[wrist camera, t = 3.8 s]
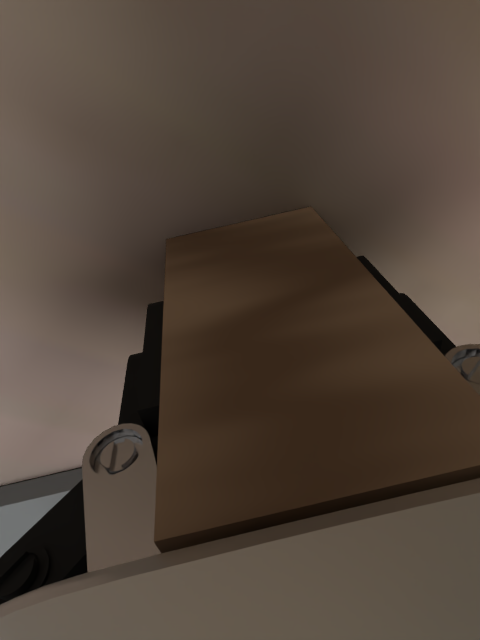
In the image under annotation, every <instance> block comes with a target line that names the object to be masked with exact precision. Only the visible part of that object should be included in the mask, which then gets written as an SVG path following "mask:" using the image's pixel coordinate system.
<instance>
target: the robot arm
mask: <svg viewBox="0 0 480 640" xmlns="http://www.w3.org/2000/svg"><path fill="white" fill-rule="evenodd" d="M356 258H357V259H358V260H359V261H360V262H361V263H362V264H363V265H364V267H365V268H366V269H367V270H368V271H369V272H370V273H371V274H372V275H373V277H374V278H375V279H376V280H377V281H378V282H379V283H380V284H381V286H382V287H383V288H384V289H385V290H386V291H387V292H388V293H389V295H390V296H391V297H392V298H393V299H394V300H395V301H396V302H397V304H398V305H399V306H400V307H401V308H402V309H403V310H404V311H405V313H406V314H407V315H408V316H409V317H410V318H411V319H412V320H413V321H414V323H415V324H416V325H417V326H418V327H419V328H420V329H421V330H422V332H423V333H424V334H425V335H426V336H427V337H428V338H429V339H430V341H431V342H432V343H433V344H434V345H435V346H436V347H437V348H438V350H439V351H440V352H441V353H442V354H443V355H444V356H445V357H446V358H447V360H448V361H449V362H450V363H451V364H452V365H453V366H454V367H455V369H456V370H457V371H458V372H459V373H460V374H461V375H462V376H463V378H464V379H465V380H466V381H467V382H468V383H469V384H470V385H471V387H472V388H473V389H474V390H475V391H476V392H477V393H478V394H479V396H480V344H467V345H461V346H457V347H456V346H455V345H454V344H453V343H452V342H451V341H450V340H449V339H448V338H447V337H446V335H445V334H444V333H443V332H442V331H441V330H440V329H439V328H438V327H437V326H436V325H435V324H434V323H433V322H432V321H431V320H430V319H429V318H428V317H427V316H426V315H425V314H424V313H423V312H422V311H421V309H420V308H419V307H418V306H417V305H416V304H415V303H414V302H413V301H412V300H411V299H410V298H409V297H408V296H407V295H405V294H404V293H398V292H397V291H396V290H395V289H394V288H393V286H392V285H391V284H390V283H389V282H388V281H387V280H386V279H385V278H384V277H383V276H382V275H381V274H380V273H379V271H378V270H377V269H376V268H375V267H374V266H373V265H372V264H371V263H370V262H369V261H368V260H367V259H366V258H365V257H364V256H359V257H356ZM163 307H164V301H162V302H157V303H153V304H149V305H148V308H147V317H146V327H145V336H144V346H143V352H142V353H138V354H134V355H130V356H129V358H128V363H127V370H126V376H125V383H124V390H123V396H122V403H121V410H120V416H119V423H118V425H117V426H113V427H111V428H109V429H107V430H106V431H104V432H102V433H101V434H100V435H99V436H97V437H96V438H95V439H94V440H93V441H92V442H91V444H90V445H89V446H88V447H87V449H86V451H85V454H84V456H83V461H82V477H83V479H82V480H81V481H80V482H79V483H78V484H77V485H76V486H75V487H74V488H72V489H71V490H70V491H69V492H68V493H67V494H66V495H65V496H64V497H63V498H62V499H61V500H60V501H59V502H58V503H57V504H56V505H55V506H54V507H53V508H51V509H50V510H49V511H48V512H47V513H46V514H45V515H44V516H43V517H42V518H41V519H40V520H39V521H38V522H37V523H36V524H35V525H34V526H33V527H32V528H30V529H29V530H28V531H27V532H26V533H25V534H24V535H23V536H22V537H21V538H20V539H19V540H18V541H17V542H16V543H15V544H14V545H13V546H12V547H11V548H9V549H8V550H7V551H6V552H5V553H4V554H3V555H2V556H1V557H0V640H480V478H478V479H473V480H469V481H465V482H460V483H456V484H451V485H447V486H443V487H438V488H434V489H430V490H425V491H421V492H417V493H413V494H408V495H404V496H400V497H396V498H391V499H387V500H383V501H379V502H374V503H370V504H366V505H362V506H357V507H353V508H349V509H345V510H340V511H336V512H332V513H328V514H323V515H319V516H315V517H311V518H307V519H302V520H298V521H294V522H290V523H285V524H281V525H277V526H273V527H269V528H265V529H260V530H256V531H252V532H248V533H244V534H240V535H236V536H232V537H227V538H223V539H219V540H215V541H211V542H207V543H203V544H198V545H194V546H190V547H186V548H182V549H178V550H174V551H169V552H165V553H161V552H160V551H159V549H158V548H157V546H156V544H155V543H154V525H155V501H156V477H157V453H158V428H159V404H160V380H161V356H162V332H163Z"/></svg>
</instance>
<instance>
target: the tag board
mask: <svg viewBox="0 0 480 640" xmlns="http://www.w3.org/2000/svg"><path fill="white" fill-rule="evenodd" d="M82 479H83V477H82V468H79V469H75V470H71V471H67V472H62V473H58V474H54V475H49V476H45V477H41V478H36V479H32V480H28V481H24V482H19V483H15V484H11V485H6V486H2V487H0V557H1V556H2V555H3V554H4V553H5V552H6V551H7V550H8V549H9V548H11V547H12V546H13V545H14V544H15V543H16V542H17V541H18V540H19V539H20V538H21V537H22V536H23V535H24V534H25V533H26V532H27V531H28V530H29V529H30V528H32V527H33V526H34V525H35V524H36V523H37V522H38V521H39V520H40V519H41V518H42V517H43V516H44V515H45V514H46V513H47V512H48V511H49V510H50V509H51V508H53V507H54V506H55V505H56V504H57V503H58V502H59V501H60V500H61V499H62V498H63V497H64V496H65V495H66V494H67V493H68V492H69V491H70V490H71V489H72V488H74V487H75V486H76V485H77V484H78V483H79V482H80V481H81V480H82Z"/></svg>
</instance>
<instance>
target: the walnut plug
mask: <svg viewBox="0 0 480 640" xmlns="http://www.w3.org/2000/svg"><path fill="white" fill-rule="evenodd" d="M478 478H480V396H479V394H478V393H477V392H476V391H475V390H474V389H473V388H472V387H471V385H470V384H469V383H468V382H467V381H466V380H465V379H464V378H463V376H462V375H461V374H460V373H459V372H458V371H457V370H456V369H455V367H454V366H453V365H452V364H451V363H450V362H449V361H448V360H447V358H446V357H445V356H444V355H443V354H442V353H441V352H440V351H439V350H438V348H437V347H436V346H435V345H434V344H433V343H432V342H431V341H430V339H429V338H428V337H427V336H426V335H425V334H424V333H423V332H422V330H421V329H420V328H419V327H418V326H417V325H416V324H415V323H414V321H413V320H412V319H411V318H410V317H409V316H408V315H407V314H406V313H405V311H404V310H403V309H402V308H401V307H400V306H399V305H398V304H397V302H396V301H395V300H394V299H393V298H392V297H391V296H390V295H389V293H388V292H387V291H386V290H385V289H384V288H383V287H382V286H381V284H380V283H379V282H378V281H377V280H376V279H375V278H374V277H373V275H372V274H371V273H370V272H369V271H368V270H367V269H366V268H365V267H364V265H363V264H362V263H361V262H360V261H359V260H358V259H357V258H356V256H355V255H354V254H353V253H352V252H351V251H350V250H349V249H348V247H347V246H346V245H345V244H344V243H343V242H342V241H341V240H340V238H339V237H338V236H337V235H336V234H335V233H334V232H333V231H332V229H331V228H330V227H329V226H328V225H327V224H326V223H325V222H324V221H323V219H322V218H321V217H320V216H319V215H318V214H317V213H316V212H315V210H314V209H313V208H312V207H306V208H302V209H298V210H293V211H289V212H284V213H280V214H275V215H271V216H267V217H262V218H258V219H253V220H249V221H244V222H240V223H236V224H231V225H227V226H222V227H218V228H214V229H209V230H205V231H200V232H196V233H191V234H187V235H183V236H178V237H174V238H169V239H166V259H165V283H164V307H163V332H162V356H161V380H160V404H159V428H158V453H157V477H156V501H155V525H154V543H155V544H156V546H157V548H158V549H159V551H160V552H161V553H165V552H169V551H174V550H178V549H182V548H186V547H190V546H194V545H198V544H203V543H207V542H211V541H215V540H219V539H223V538H227V537H232V536H236V535H240V534H244V533H248V532H252V531H256V530H260V529H265V528H269V527H273V526H277V525H281V524H285V523H290V522H294V521H298V520H302V519H307V518H311V517H315V516H319V515H323V514H328V513H332V512H336V511H340V510H345V509H349V508H353V507H357V506H362V505H366V504H370V503H374V502H379V501H383V500H387V499H391V498H396V497H400V496H404V495H408V494H413V493H417V492H421V491H425V490H430V489H434V488H438V487H443V486H447V485H451V484H456V483H460V482H465V481H469V480H473V479H478Z"/></svg>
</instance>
